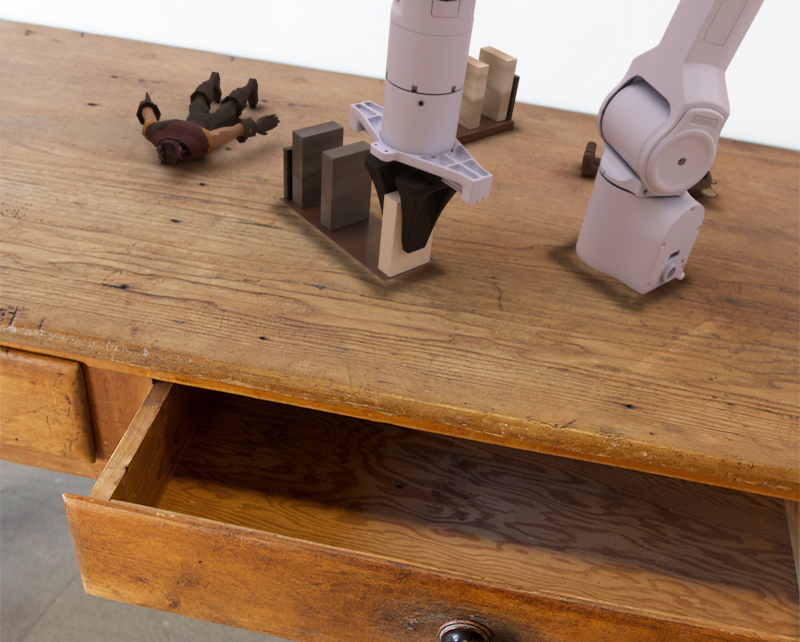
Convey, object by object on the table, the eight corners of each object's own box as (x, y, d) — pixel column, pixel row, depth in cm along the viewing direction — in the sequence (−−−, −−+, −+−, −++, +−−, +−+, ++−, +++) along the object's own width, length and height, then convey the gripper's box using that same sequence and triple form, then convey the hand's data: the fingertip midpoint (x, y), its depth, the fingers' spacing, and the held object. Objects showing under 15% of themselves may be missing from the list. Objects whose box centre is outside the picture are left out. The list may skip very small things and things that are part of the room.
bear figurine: (597, 113, 89) (727, 128, 86) (590, 148, 92) (717, 165, 89) (573, 178, 76) (726, 199, 73) (567, 217, 79) (713, 239, 76)
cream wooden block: (429, 262, 67) (439, 189, 62) (389, 277, 64) (397, 203, 60) (417, 253, 68) (426, 180, 63) (377, 268, 65) (384, 194, 60)
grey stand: (435, 270, 68) (448, 187, 62) (383, 291, 65) (391, 206, 59) (329, 192, 76) (332, 113, 70) (278, 207, 73) (277, 126, 67)
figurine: (174, 101, 90) (91, 166, 75) (171, 63, 87) (84, 123, 72) (297, 122, 89) (238, 193, 73) (298, 85, 86) (237, 150, 71)
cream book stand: (513, 128, 91) (526, 60, 86) (425, 154, 84) (434, 81, 78) (478, 110, 94) (489, 42, 89) (390, 133, 87) (397, 61, 82)
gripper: (320, 53, 57) (316, 215, 66) (451, 129, 49) (426, 300, 59) (393, 40, 60) (380, 195, 70) (526, 109, 53) (490, 273, 62)
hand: (405, 242), depth 64 cm, fingers closed on cream wooden block, 2 cm apart
